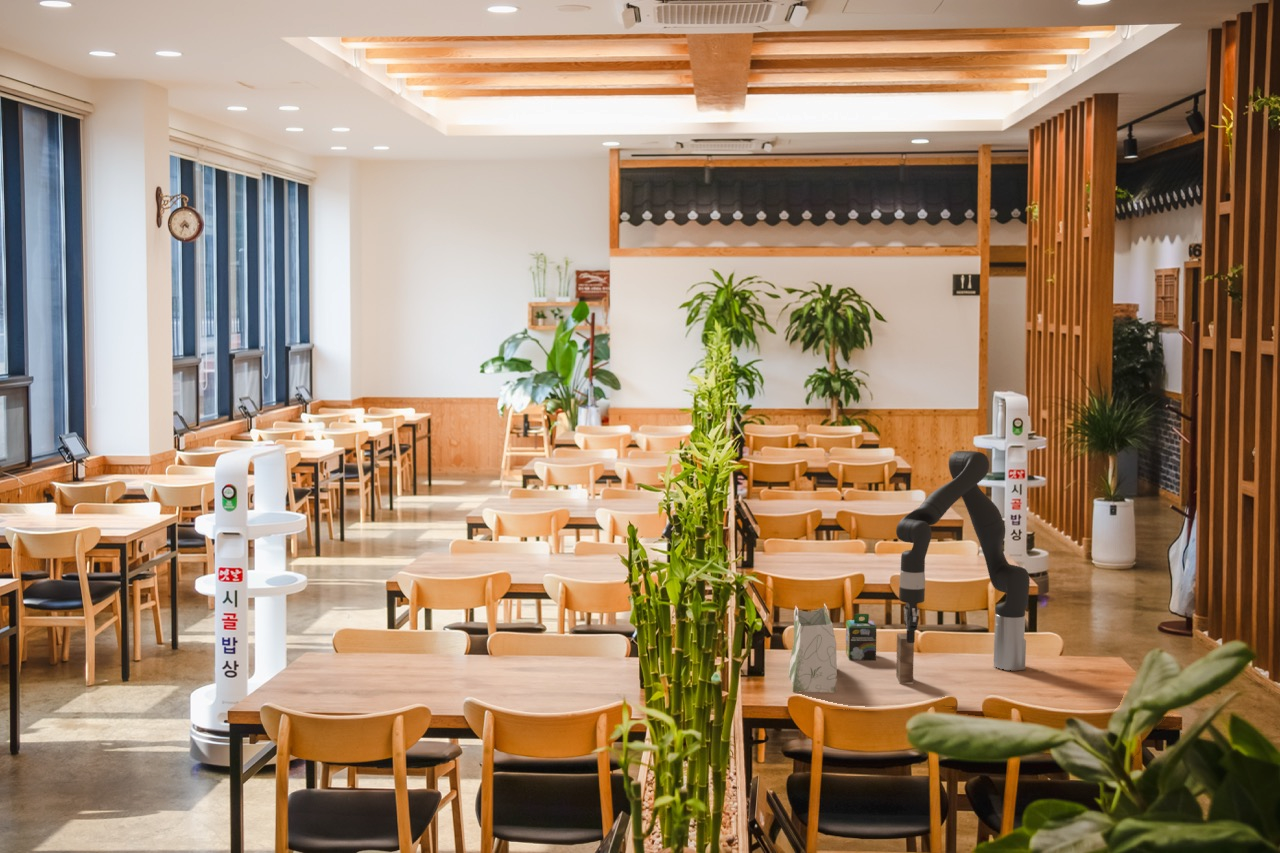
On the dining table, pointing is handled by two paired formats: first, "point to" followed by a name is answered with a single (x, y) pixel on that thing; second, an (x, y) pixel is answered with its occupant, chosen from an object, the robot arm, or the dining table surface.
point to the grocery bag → (813, 652)
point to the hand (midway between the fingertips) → (910, 642)
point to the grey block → (904, 659)
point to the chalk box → (861, 638)
